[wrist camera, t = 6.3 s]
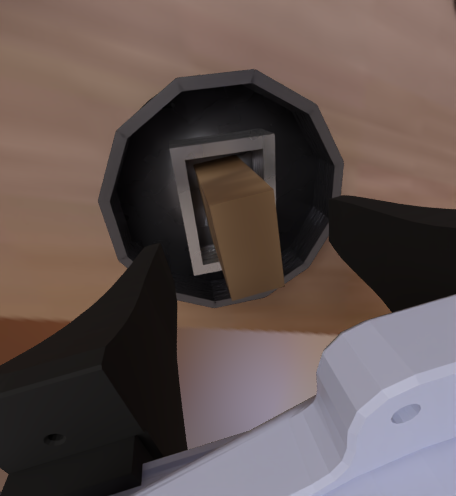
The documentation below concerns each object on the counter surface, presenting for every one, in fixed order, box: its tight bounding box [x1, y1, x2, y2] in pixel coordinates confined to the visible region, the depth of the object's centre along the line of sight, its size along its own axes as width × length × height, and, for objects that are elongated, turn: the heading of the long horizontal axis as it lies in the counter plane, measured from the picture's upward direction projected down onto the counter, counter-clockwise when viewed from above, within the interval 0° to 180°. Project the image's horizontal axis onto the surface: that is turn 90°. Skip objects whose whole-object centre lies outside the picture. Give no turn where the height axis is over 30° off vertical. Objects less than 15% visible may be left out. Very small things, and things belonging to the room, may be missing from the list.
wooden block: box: [193, 155, 285, 301], centre depth 14 cm, size 2×4×6 cm, turn 11°
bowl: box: [98, 69, 344, 308], centre depth 16 cm, size 13×13×3 cm
